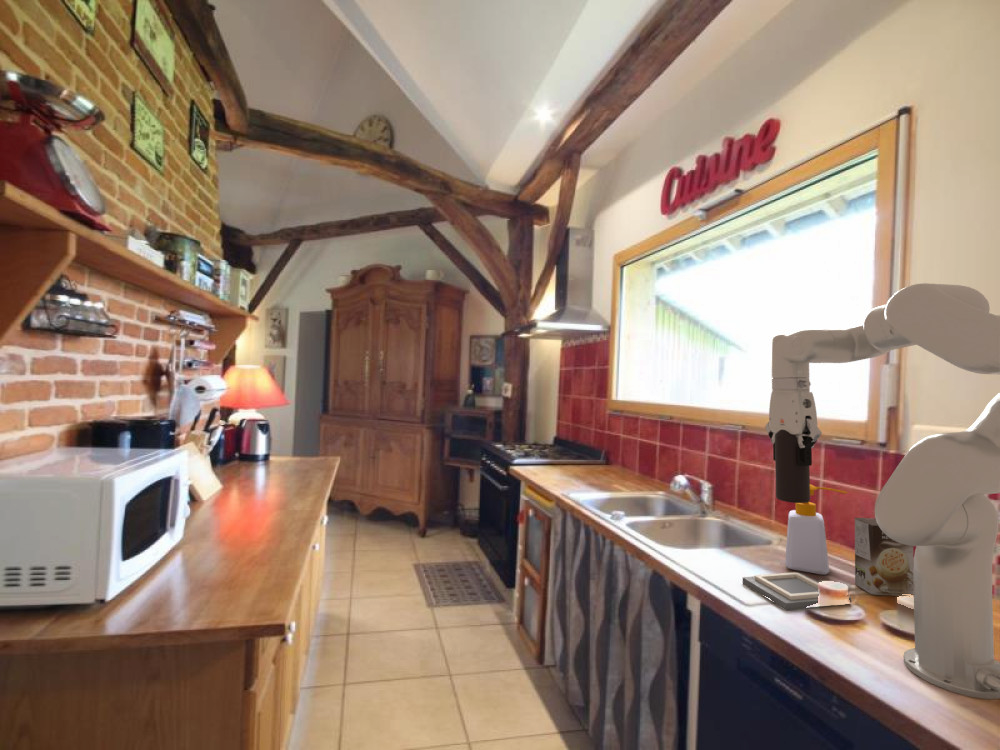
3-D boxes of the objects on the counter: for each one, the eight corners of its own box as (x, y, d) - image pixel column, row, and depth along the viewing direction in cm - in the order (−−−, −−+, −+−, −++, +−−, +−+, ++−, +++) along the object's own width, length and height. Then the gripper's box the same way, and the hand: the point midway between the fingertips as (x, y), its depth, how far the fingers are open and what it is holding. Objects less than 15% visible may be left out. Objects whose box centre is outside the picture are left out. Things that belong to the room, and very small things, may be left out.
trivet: (850, 604, 105) (850, 593, 105) (786, 610, 102) (785, 599, 102) (800, 579, 118) (800, 569, 118) (742, 583, 116) (742, 573, 116)
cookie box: (872, 595, 109) (870, 525, 109) (854, 584, 115) (852, 517, 116) (915, 597, 108) (913, 526, 108) (895, 585, 115) (893, 518, 115)
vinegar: (805, 497, 113) (803, 413, 113) (814, 504, 106) (812, 414, 107) (772, 495, 115) (771, 412, 115) (779, 502, 108) (778, 414, 109)
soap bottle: (851, 581, 117) (849, 490, 118) (785, 569, 124) (783, 484, 125) (847, 568, 125) (845, 483, 126) (785, 558, 132) (784, 478, 133)
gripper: (836, 385, 103) (838, 468, 103) (777, 386, 120) (778, 457, 120) (805, 386, 102) (807, 469, 102) (750, 386, 119) (752, 458, 119)
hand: (792, 462), depth 111 cm, fingers closed on vinegar, 6 cm apart
